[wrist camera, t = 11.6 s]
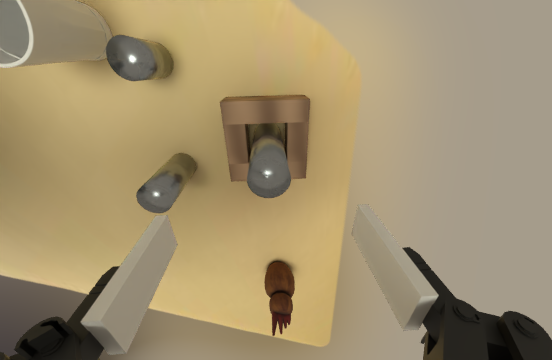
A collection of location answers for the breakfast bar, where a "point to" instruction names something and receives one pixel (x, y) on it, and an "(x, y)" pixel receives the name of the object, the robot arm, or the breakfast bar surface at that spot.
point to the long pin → (268, 162)
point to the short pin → (138, 58)
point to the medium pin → (166, 184)
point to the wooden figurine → (280, 294)
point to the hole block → (258, 112)
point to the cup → (50, 32)
